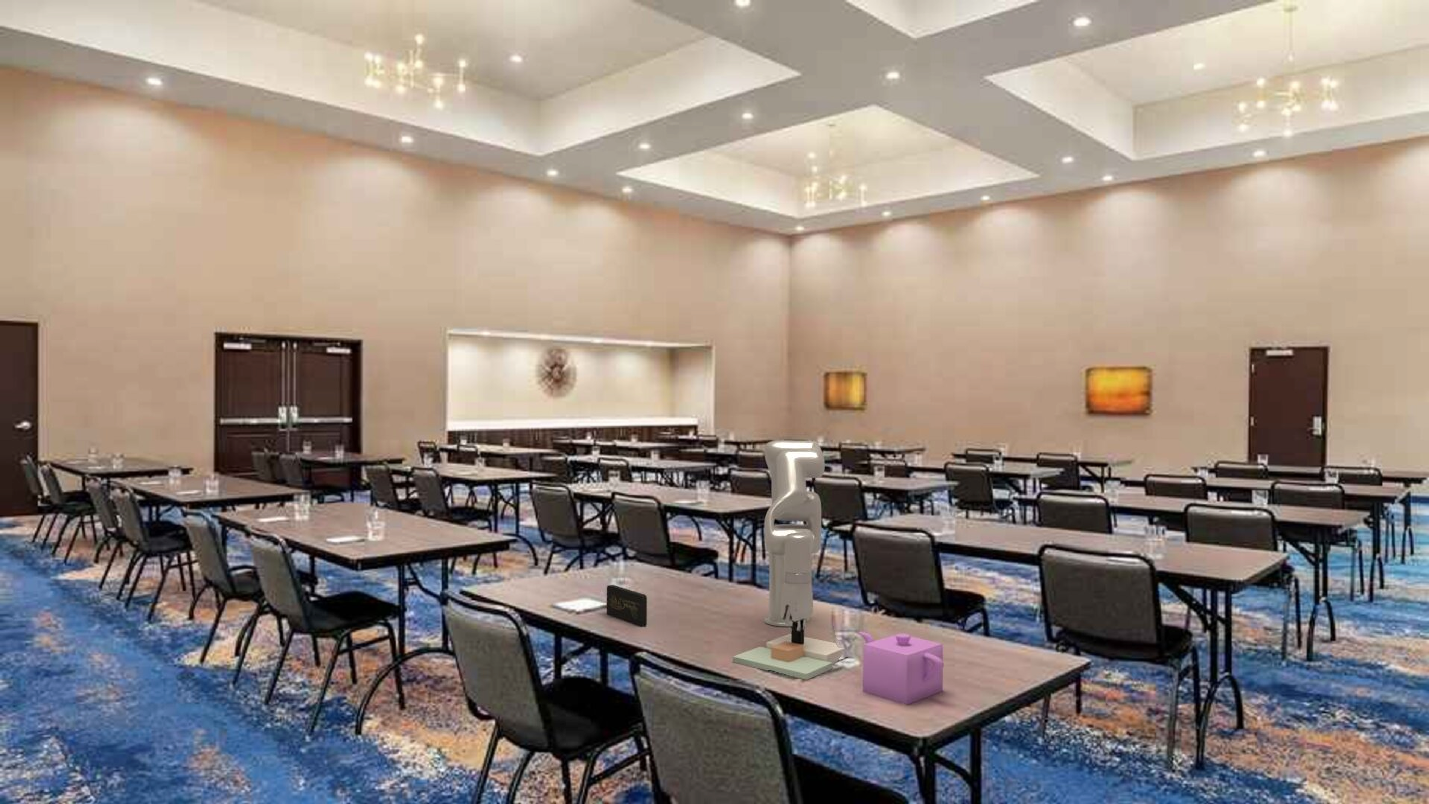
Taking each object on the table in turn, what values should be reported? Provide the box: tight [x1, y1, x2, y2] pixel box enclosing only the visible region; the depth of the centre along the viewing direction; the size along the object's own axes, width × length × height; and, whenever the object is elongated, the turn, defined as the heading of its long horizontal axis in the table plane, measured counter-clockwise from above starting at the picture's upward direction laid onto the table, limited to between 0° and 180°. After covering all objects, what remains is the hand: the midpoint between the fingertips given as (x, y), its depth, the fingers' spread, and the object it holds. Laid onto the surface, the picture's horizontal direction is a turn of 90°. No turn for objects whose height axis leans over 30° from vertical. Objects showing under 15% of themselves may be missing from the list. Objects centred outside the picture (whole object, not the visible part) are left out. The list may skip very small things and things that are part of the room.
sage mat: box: [732, 646, 833, 681], centre depth 236 cm, size 13×24×2 cm, turn 51°
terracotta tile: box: [771, 641, 804, 662], centre depth 238 cm, size 7×6×3 cm
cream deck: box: [765, 633, 845, 665], centre depth 246 cm, size 12×20×3 cm, turn 51°
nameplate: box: [606, 584, 648, 628], centre depth 284 cm, size 21×2×10 cm, turn 39°
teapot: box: [858, 631, 945, 706], centre depth 216 cm, size 15×25×14 cm, turn 43°
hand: (797, 643), depth 242 cm, fingers closed
